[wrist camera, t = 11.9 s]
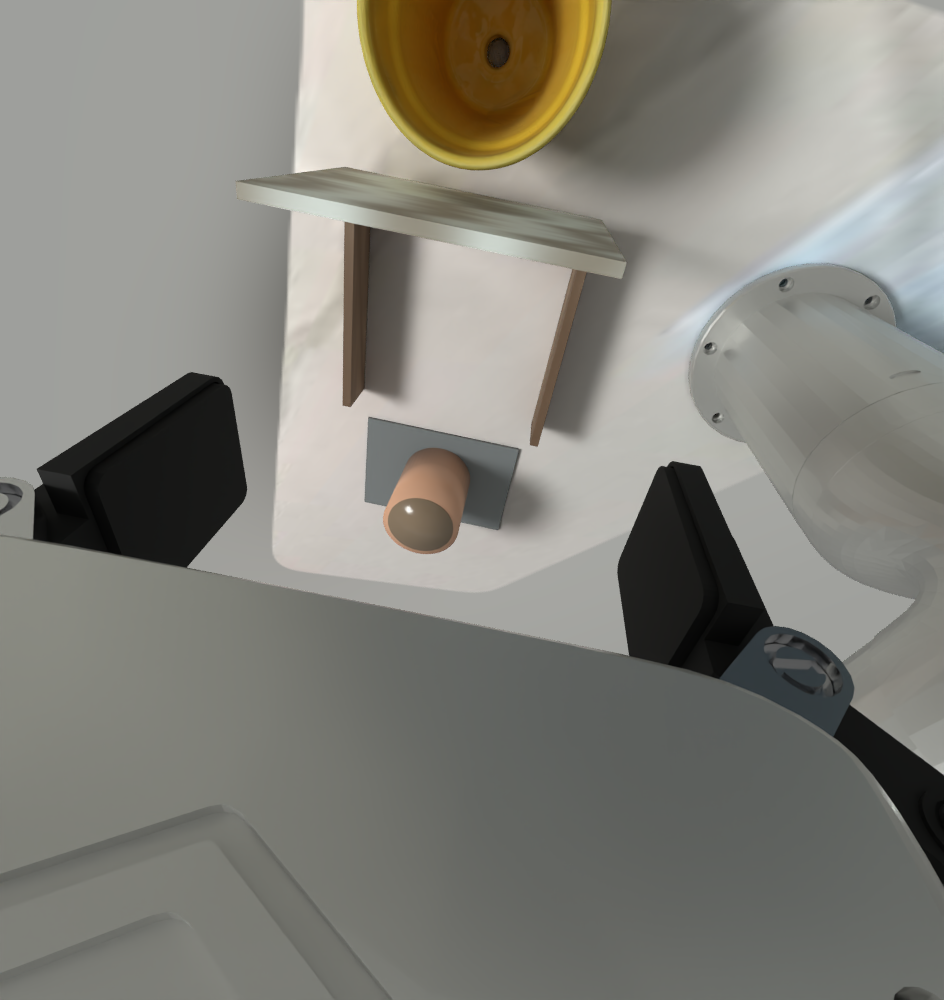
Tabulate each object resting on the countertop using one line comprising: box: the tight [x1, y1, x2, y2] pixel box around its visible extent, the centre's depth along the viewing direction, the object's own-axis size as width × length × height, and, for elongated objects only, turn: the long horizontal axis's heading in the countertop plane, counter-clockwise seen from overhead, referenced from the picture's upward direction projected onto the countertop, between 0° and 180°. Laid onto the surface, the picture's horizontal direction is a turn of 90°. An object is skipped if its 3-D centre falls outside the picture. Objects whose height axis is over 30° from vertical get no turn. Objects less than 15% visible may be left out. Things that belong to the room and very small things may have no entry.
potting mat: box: [365, 417, 519, 530], centre depth 45 cm, size 13×9×1 cm
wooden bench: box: [236, 167, 627, 447], centre depth 30 cm, size 15×15×16 cm
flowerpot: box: [383, 448, 470, 554], centre depth 42 cm, size 6×6×7 cm
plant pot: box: [357, 0, 612, 170], centre depth 24 cm, size 10×10×10 cm
